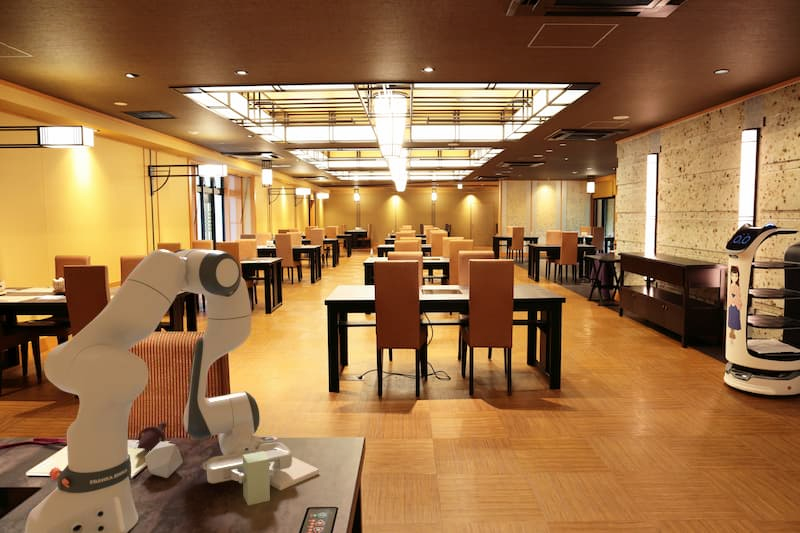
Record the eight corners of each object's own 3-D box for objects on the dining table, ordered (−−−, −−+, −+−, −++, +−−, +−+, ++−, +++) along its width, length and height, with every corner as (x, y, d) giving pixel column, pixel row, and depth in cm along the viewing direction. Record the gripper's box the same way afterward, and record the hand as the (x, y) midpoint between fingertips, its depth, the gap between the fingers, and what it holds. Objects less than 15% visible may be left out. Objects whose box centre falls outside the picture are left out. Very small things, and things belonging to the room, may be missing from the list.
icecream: (155, 438, 146) (178, 422, 161) (128, 430, 146) (154, 416, 161) (148, 463, 146) (172, 445, 161) (121, 456, 146) (148, 438, 161)
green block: (248, 505, 124) (247, 463, 123) (243, 495, 128) (242, 454, 128) (269, 500, 126) (269, 458, 126) (264, 491, 131) (263, 450, 130)
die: (190, 473, 141) (183, 437, 145) (175, 470, 133) (168, 432, 137) (159, 485, 141) (153, 449, 145) (142, 483, 133) (136, 445, 137)
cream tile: (280, 490, 131) (280, 485, 131) (252, 474, 139) (252, 470, 139) (318, 473, 140) (318, 469, 140) (290, 459, 148) (290, 455, 148)
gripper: (200, 450, 133) (210, 473, 121) (282, 435, 143) (298, 455, 131) (201, 475, 134) (210, 500, 122) (282, 458, 143) (299, 480, 131)
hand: (257, 476), depth 126 cm, fingers closed on green block, 5 cm apart
